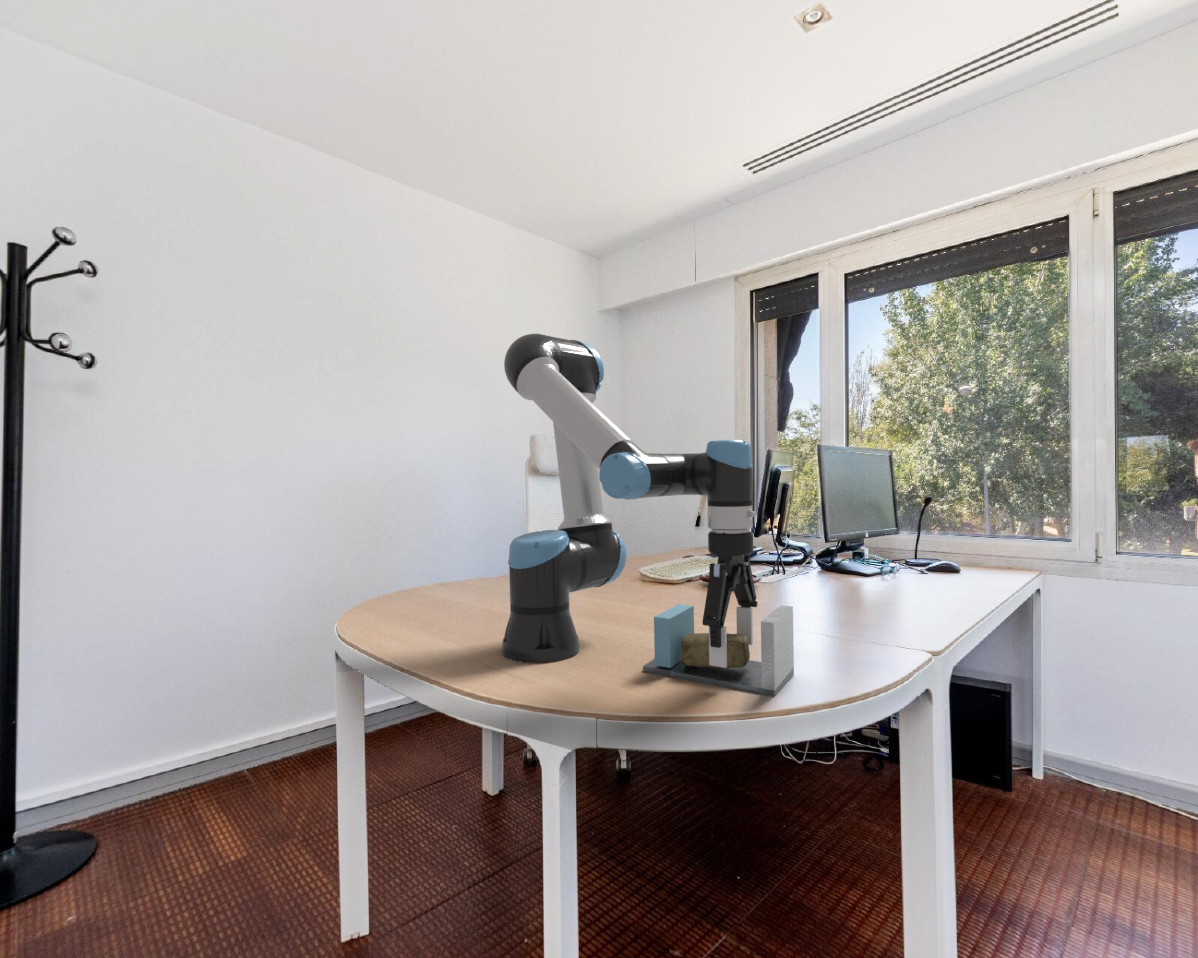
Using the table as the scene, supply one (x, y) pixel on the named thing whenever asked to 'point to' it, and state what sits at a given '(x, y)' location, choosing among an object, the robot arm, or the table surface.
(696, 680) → the vise bed
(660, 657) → the sliding jaw
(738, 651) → the stone block
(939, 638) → the table surface
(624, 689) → the table surface
